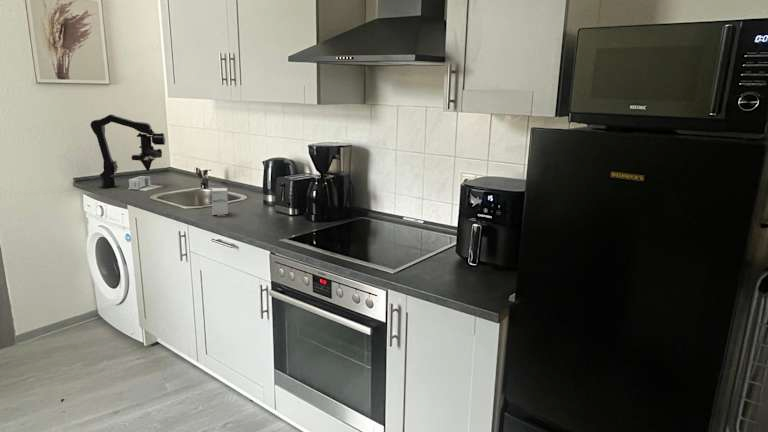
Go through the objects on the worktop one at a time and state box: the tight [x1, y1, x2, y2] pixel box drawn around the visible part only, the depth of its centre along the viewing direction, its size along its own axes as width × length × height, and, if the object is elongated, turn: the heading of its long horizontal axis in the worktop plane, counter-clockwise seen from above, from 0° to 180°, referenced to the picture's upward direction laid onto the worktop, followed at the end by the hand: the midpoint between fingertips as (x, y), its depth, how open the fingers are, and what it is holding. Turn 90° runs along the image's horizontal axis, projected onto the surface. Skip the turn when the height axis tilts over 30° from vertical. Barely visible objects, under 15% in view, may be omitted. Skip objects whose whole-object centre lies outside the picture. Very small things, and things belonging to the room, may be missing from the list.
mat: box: [127, 184, 164, 192], centre depth 309 cm, size 12×15×1 cm
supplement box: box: [211, 187, 229, 216], centre depth 254 cm, size 7×7×13 cm
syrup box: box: [128, 175, 152, 191], centre depth 308 cm, size 6×6×14 cm
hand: (148, 170), depth 310 cm, fingers closed
